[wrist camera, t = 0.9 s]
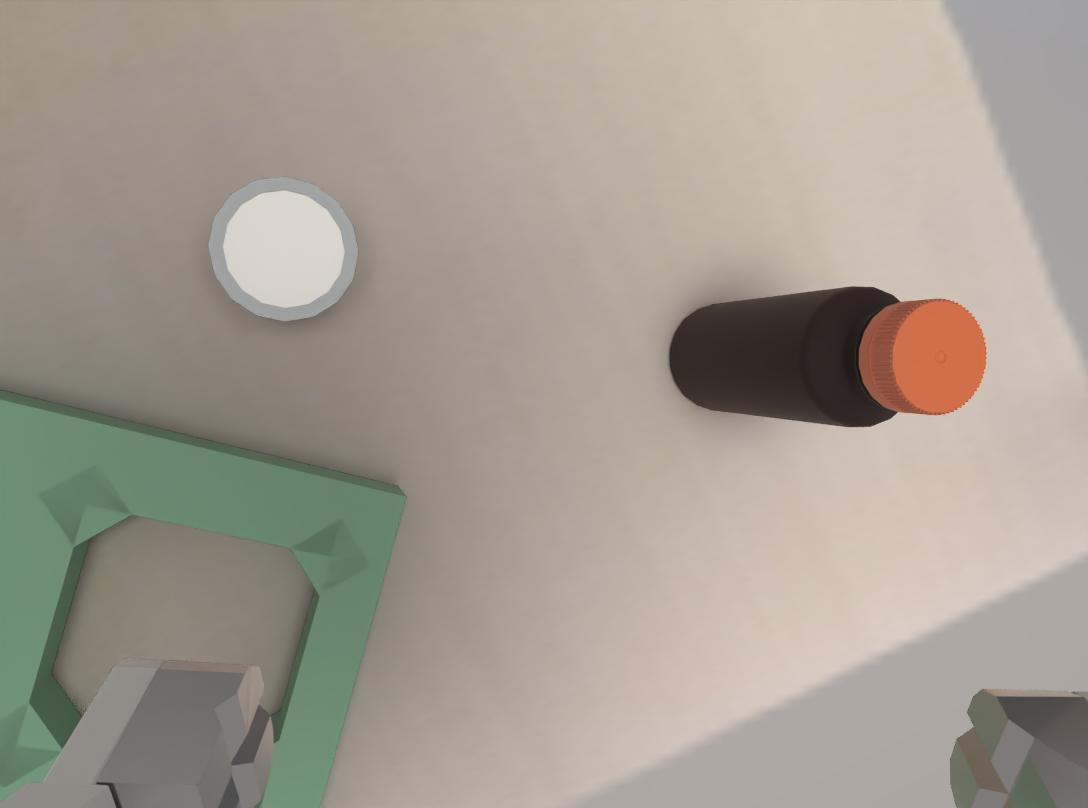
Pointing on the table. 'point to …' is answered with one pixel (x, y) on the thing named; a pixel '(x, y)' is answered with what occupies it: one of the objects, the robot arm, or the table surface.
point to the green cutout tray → (194, 501)
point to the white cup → (283, 248)
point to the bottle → (830, 356)
